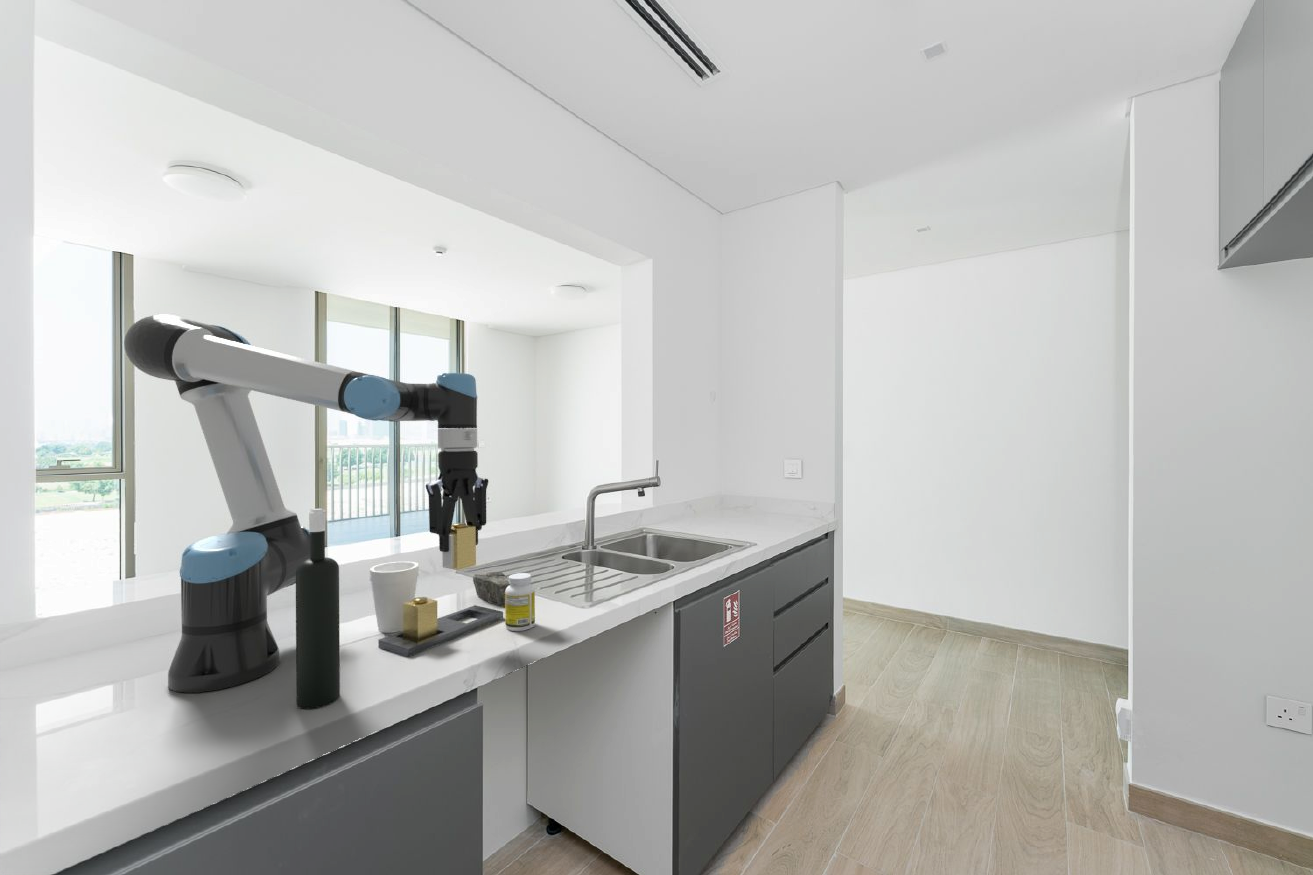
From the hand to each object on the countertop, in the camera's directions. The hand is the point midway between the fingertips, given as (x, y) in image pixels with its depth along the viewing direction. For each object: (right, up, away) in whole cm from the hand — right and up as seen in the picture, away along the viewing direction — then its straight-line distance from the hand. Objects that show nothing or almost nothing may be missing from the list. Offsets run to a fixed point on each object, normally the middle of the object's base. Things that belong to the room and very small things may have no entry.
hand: (459, 564), depth 111 cm
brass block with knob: (-7, -15, -2) cm, 17 cm away
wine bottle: (-13, -16, -25) cm, 32 cm away
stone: (0, -15, +25) cm, 29 cm away
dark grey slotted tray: (-4, -15, +3) cm, 16 cm away
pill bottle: (+11, -15, +7) cm, 20 cm away
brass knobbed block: (0, 0, 0) cm, 0 cm away
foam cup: (-16, -15, +6) cm, 23 cm away
